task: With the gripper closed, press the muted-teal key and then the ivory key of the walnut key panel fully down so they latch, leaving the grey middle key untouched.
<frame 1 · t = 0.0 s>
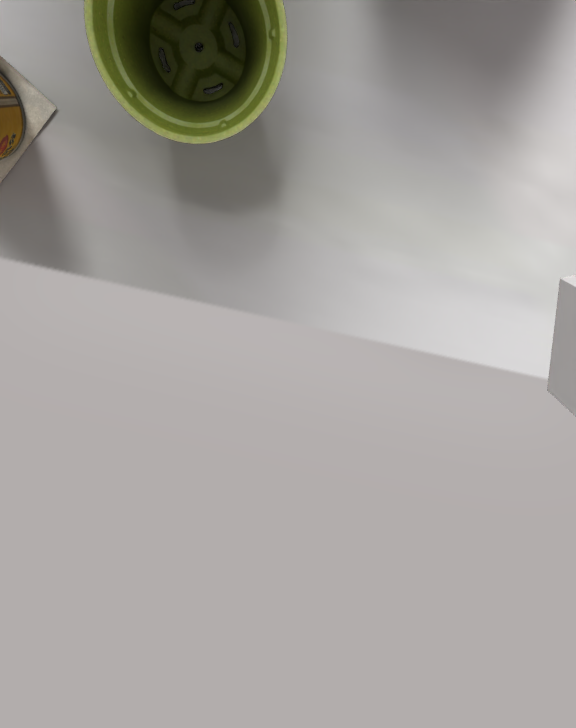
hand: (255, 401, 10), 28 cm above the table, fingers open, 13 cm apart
plant pot: (197, 48, 30), on the table
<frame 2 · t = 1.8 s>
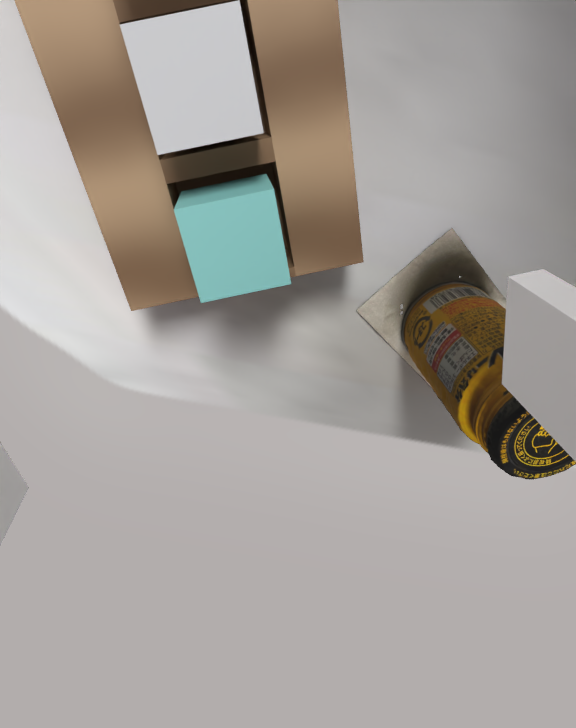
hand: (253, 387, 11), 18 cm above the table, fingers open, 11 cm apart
condiment: (438, 312, 31), on the table
key panel: (203, 84, 23), on the table
grey key: (198, 83, 18), point 5 cm above the table, slide at 0.0 cm
teal key: (234, 236, 21), point 5 cm above the table, slide at 0.0 cm
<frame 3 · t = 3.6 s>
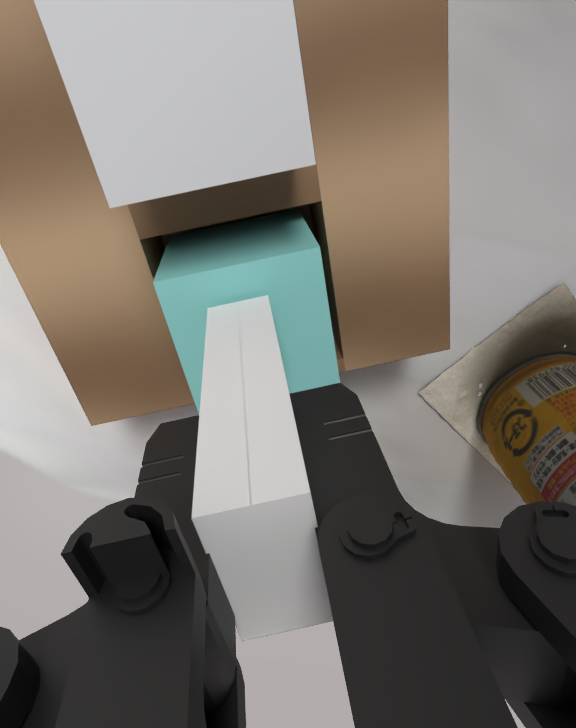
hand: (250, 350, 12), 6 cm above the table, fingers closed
condiment: (528, 390, 22), on the table
key panel: (202, 73, 15), on the table
grey key: (190, 67, 10), point 5 cm above the table, slide at 0.0 cm
teal key: (251, 307, 14), point 4 cm above the table, slide at 1.3 cm, touching gripper
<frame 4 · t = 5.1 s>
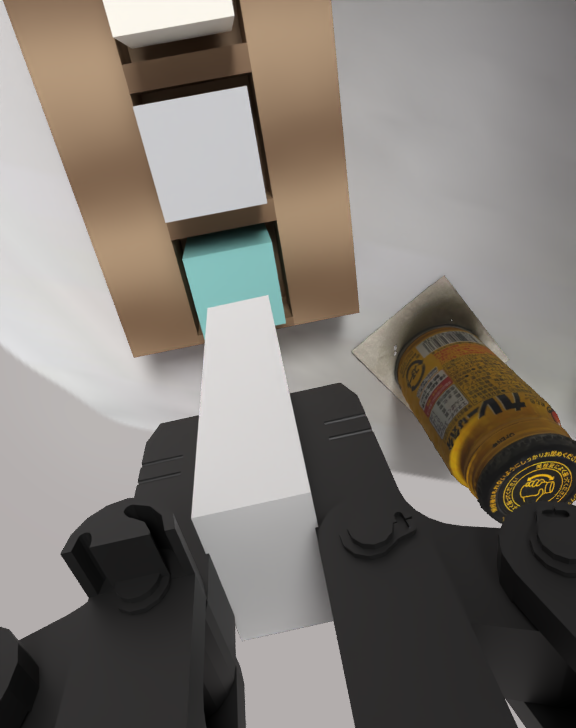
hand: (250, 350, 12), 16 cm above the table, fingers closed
condiment: (430, 353, 32), on the table
key panel: (207, 142, 24), on the table
grey key: (205, 152, 19), point 5 cm above the table, slide at 0.0 cm
teal key: (235, 278, 24), point 4 cm above the table, slide at 1.8 cm
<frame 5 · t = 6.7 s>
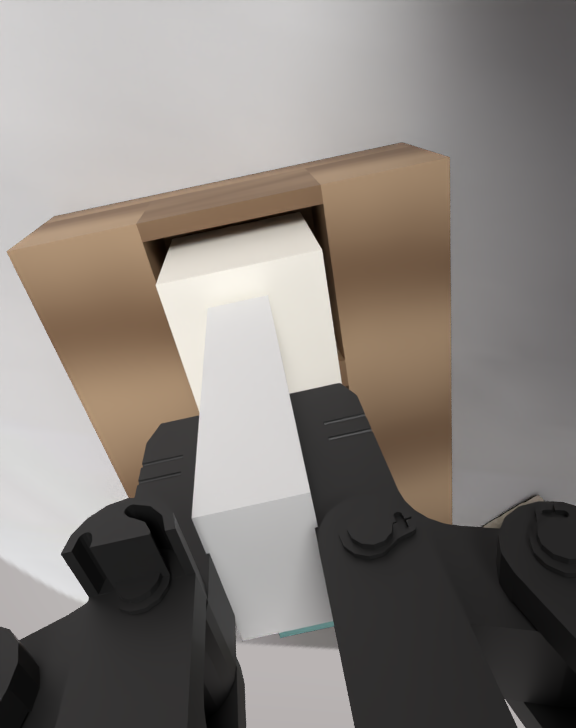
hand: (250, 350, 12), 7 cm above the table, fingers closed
ivory key: (253, 310, 14), point 4 cm above the table, slide at 1.3 cm
key panel: (278, 395, 21), on the table
teal key: (312, 556, 21), point 4 cm above the table, slide at 1.8 cm
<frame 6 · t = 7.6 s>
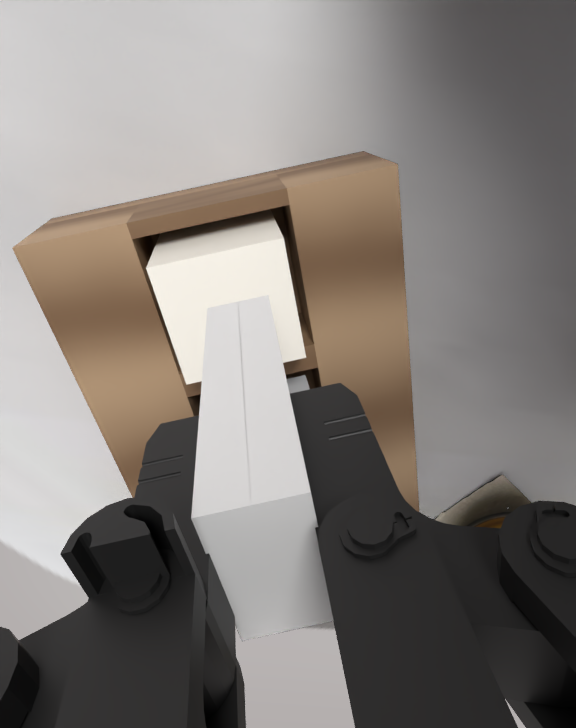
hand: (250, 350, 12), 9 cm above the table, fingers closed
condiment: (483, 534, 31), on the table
ivory key: (230, 292, 16), point 4 cm above the table, slide at 1.8 cm
key panel: (258, 382, 23), on the table
grey key: (270, 458, 18), point 6 cm above the table, slide at 0.0 cm
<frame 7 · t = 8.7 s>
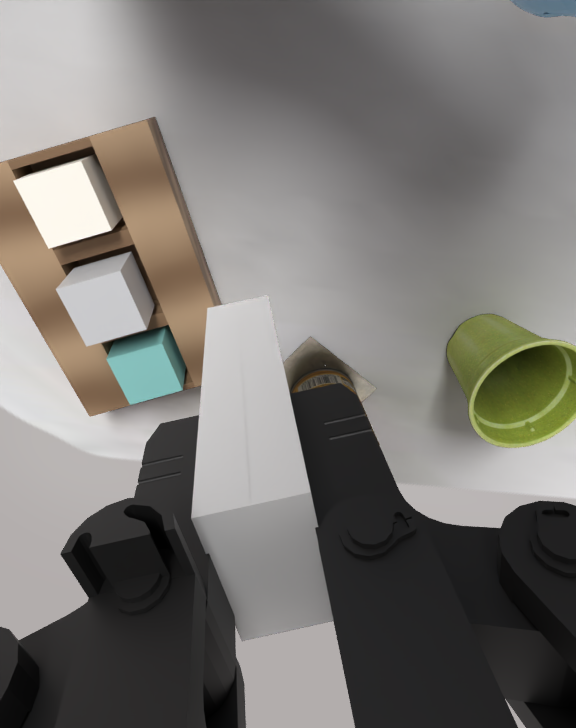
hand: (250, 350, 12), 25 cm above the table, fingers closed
condiment: (315, 388, 43), on the table
ivory key: (73, 199, 30), point 4 cm above the table, slide at 1.8 cm
key panel: (124, 270, 36), on the table
plant pot: (476, 343, 43), on the table
grey key: (109, 297, 31), point 5 cm above the table, slide at 0.0 cm
teal key: (149, 361, 36), point 4 cm above the table, slide at 1.8 cm
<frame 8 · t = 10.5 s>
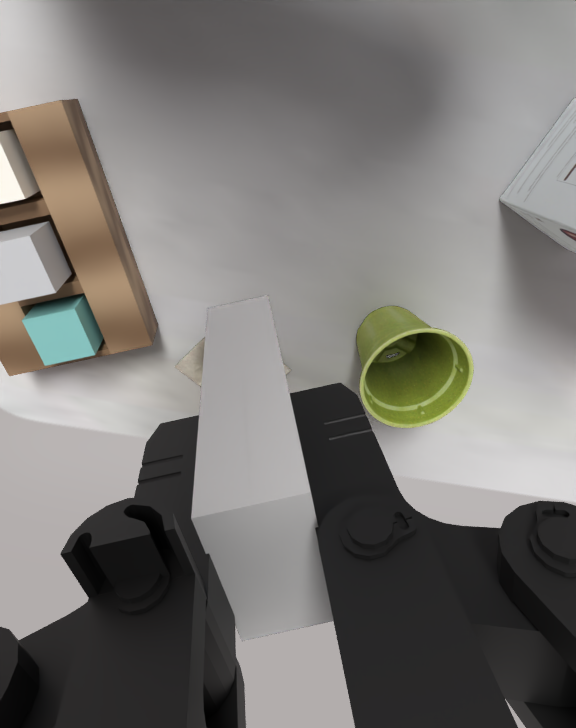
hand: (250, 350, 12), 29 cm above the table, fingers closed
condiment: (233, 366, 46), on the table
key panel: (49, 241, 38), on the table
plant pot: (385, 333, 46), on the table
supplement box: (569, 178, 41), on the table
grey key: (24, 262, 34), point 6 cm above the table, slide at 0.0 cm
teal key: (66, 327, 38), point 4 cm above the table, slide at 1.8 cm
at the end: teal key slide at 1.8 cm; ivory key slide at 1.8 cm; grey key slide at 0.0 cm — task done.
